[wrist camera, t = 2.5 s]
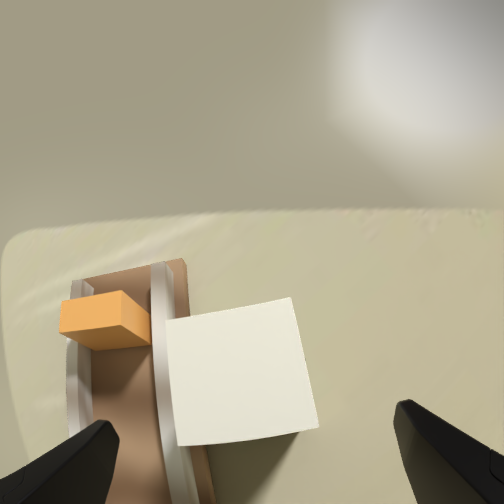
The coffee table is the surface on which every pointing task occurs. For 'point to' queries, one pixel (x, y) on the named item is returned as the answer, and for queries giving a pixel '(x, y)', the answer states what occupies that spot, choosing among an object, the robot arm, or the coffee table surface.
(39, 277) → the coffee table surface
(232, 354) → the block
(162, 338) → the rail board
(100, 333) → the block
